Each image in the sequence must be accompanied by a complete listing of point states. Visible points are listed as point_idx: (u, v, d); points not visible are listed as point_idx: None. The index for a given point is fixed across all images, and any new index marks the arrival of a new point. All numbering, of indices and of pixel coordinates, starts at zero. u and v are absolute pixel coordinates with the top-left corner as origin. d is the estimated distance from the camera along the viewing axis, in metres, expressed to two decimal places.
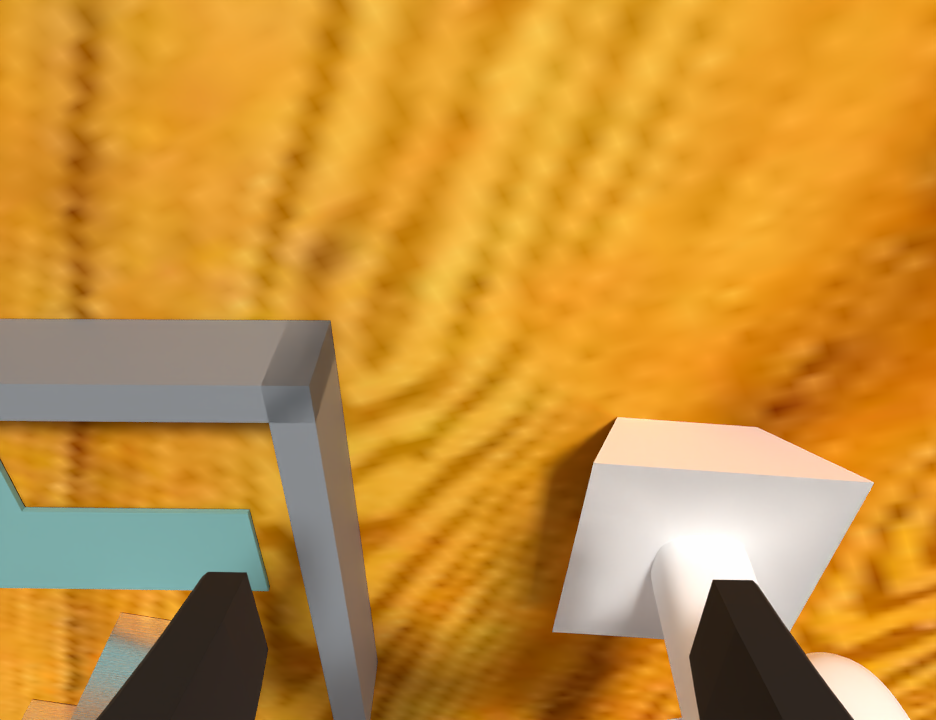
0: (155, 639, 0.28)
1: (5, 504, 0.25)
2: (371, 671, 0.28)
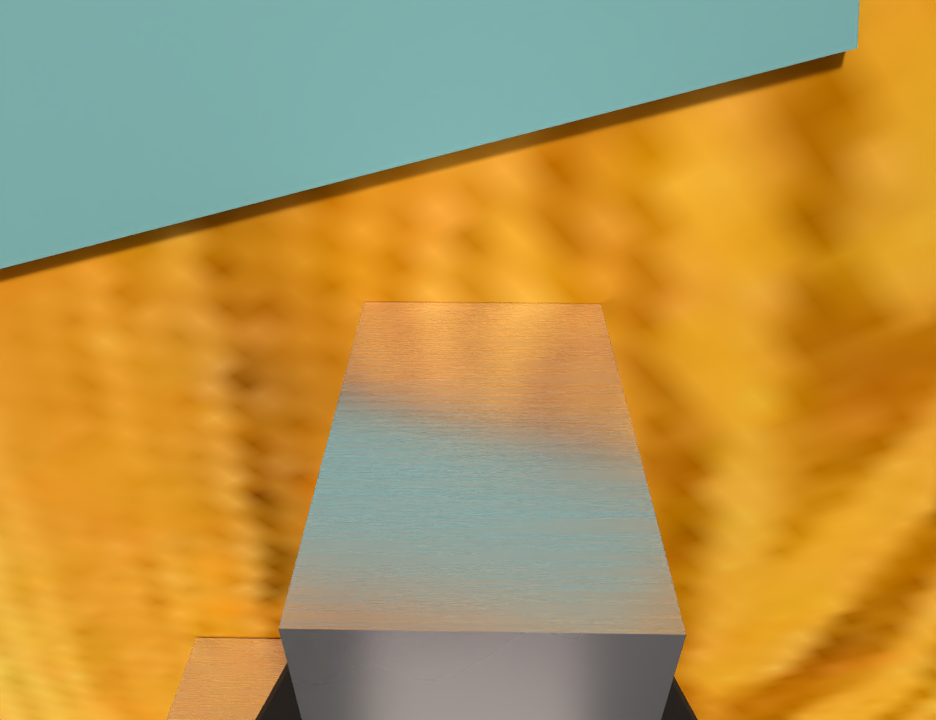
0: (487, 340, 0.09)
1: None
2: None
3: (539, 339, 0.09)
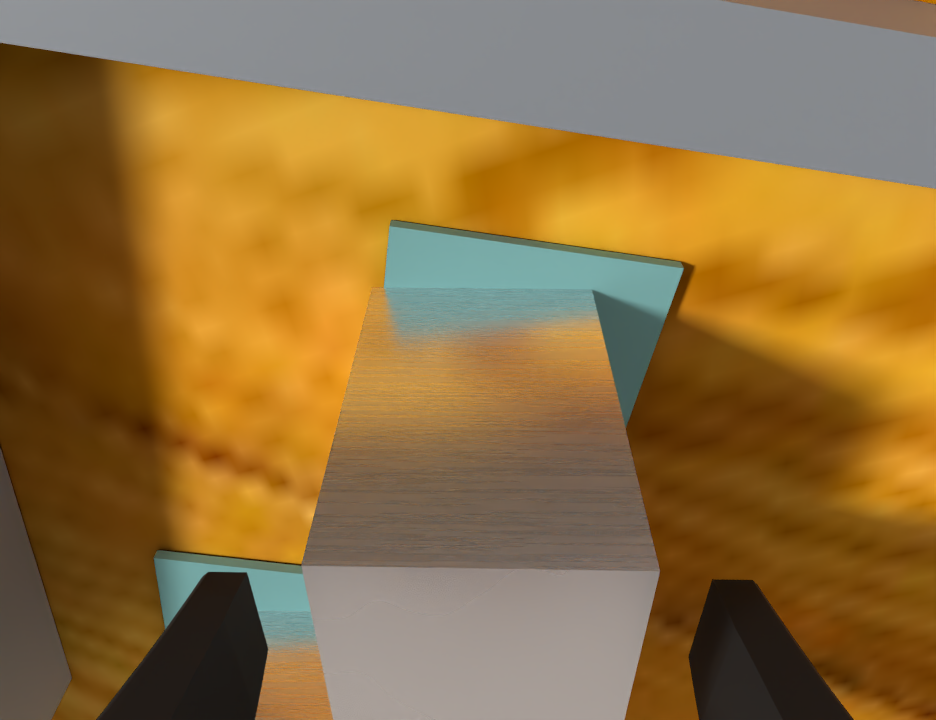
0: (486, 320, 0.10)
1: None
2: None
3: (534, 320, 0.10)
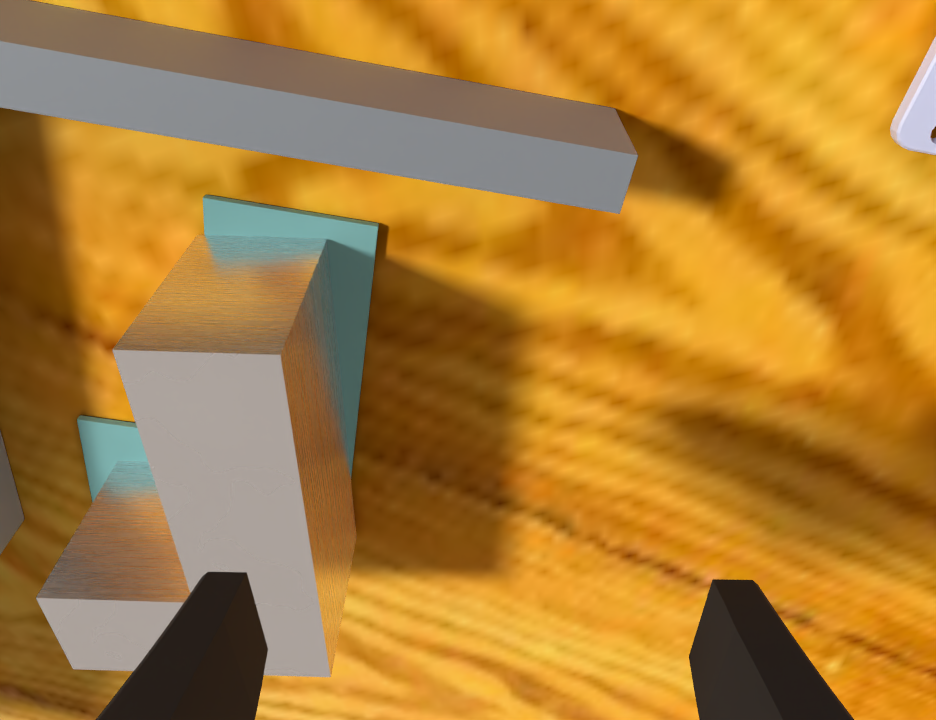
0: (255, 252, 0.17)
1: None
2: (566, 114, 0.15)
3: (283, 253, 0.17)
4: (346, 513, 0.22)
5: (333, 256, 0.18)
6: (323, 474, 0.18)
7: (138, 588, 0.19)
